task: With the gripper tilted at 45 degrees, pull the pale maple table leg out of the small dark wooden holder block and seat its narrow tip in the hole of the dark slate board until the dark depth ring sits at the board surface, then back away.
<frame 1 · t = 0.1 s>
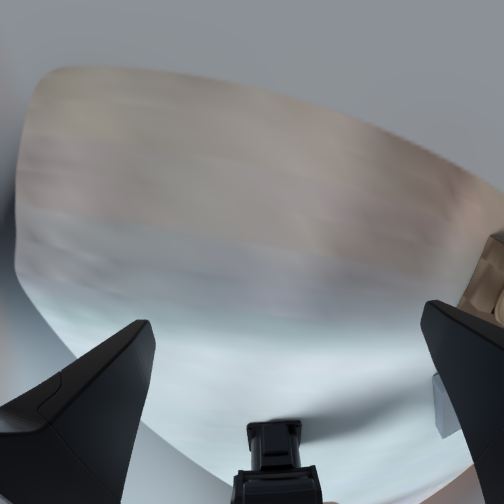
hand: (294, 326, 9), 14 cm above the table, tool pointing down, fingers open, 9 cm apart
board: (491, 369, 31), on the table
holder: (495, 284, 25), on the table
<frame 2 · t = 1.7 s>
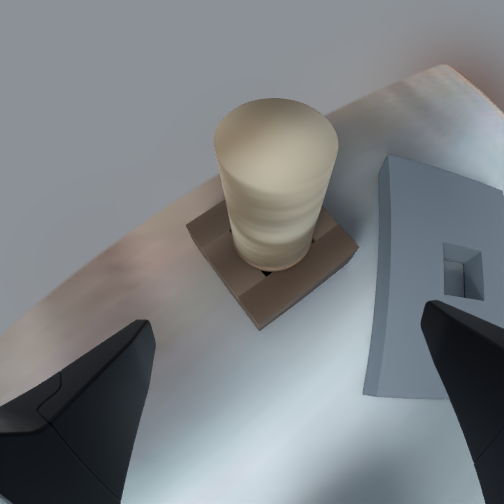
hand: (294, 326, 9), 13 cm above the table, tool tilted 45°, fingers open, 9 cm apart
board: (446, 282, 23), on the table
leg: (273, 210, 19), in the holder
holder: (271, 251, 25), on the table
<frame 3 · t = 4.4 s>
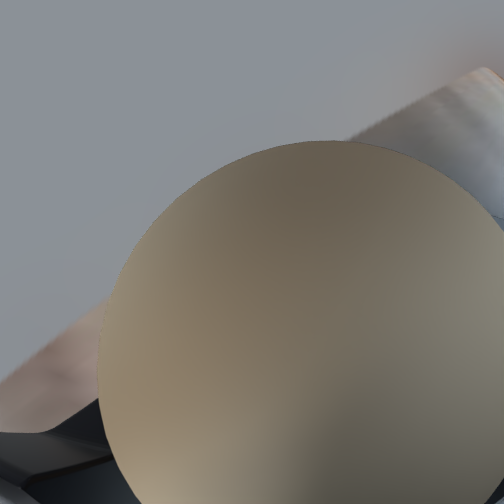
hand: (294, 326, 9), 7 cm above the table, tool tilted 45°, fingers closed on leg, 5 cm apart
leg: (297, 372, 9), in the holder, touching gripper
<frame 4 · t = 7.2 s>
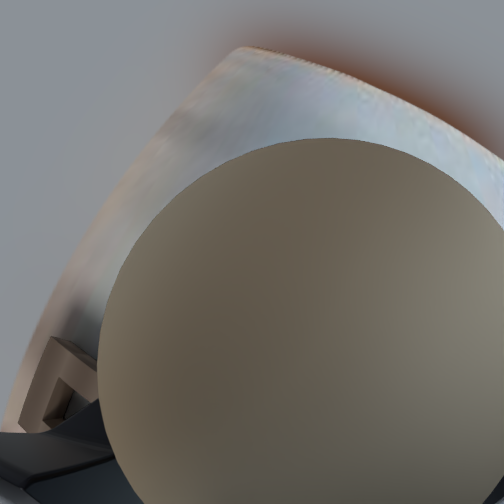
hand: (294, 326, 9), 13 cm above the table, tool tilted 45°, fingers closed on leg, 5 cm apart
leg: (297, 370, 9), point 13 cm above the table, touching gripper
holder: (89, 413, 20), on the table
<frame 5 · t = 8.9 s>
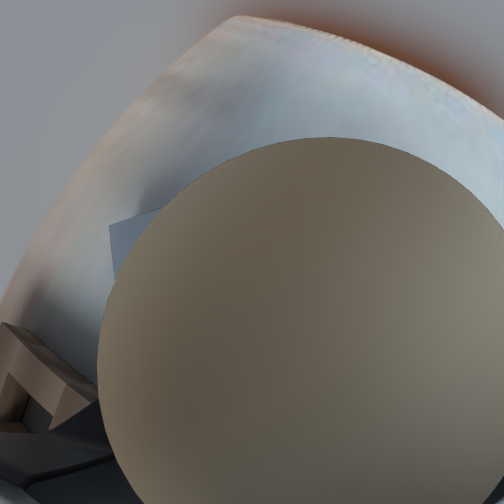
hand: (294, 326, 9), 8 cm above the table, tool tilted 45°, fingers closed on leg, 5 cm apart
board: (281, 370, 16), on the table
leg: (297, 370, 9), point 8 cm above the table, touching gripper
holder: (47, 418, 14), on the table
when the fingers open (7 cm above the table, at t = 10.4 s): leg stays where it is, resting in board.
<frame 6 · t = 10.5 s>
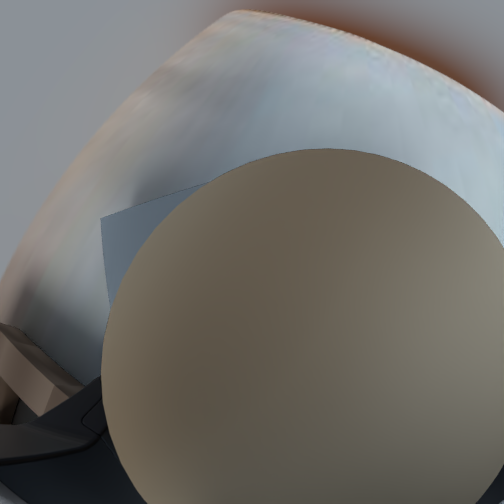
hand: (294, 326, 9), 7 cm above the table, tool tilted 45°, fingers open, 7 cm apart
board: (283, 372, 15), on the table
leg: (296, 372, 9), in the board
holder: (38, 421, 13), on the table
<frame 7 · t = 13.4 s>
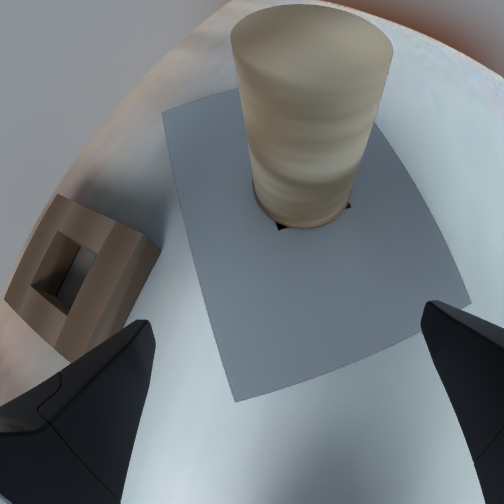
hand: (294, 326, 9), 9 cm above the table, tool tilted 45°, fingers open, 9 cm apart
board: (299, 210, 20), on the table
leg: (305, 148, 14), in the board
holder: (85, 283, 20), on the table
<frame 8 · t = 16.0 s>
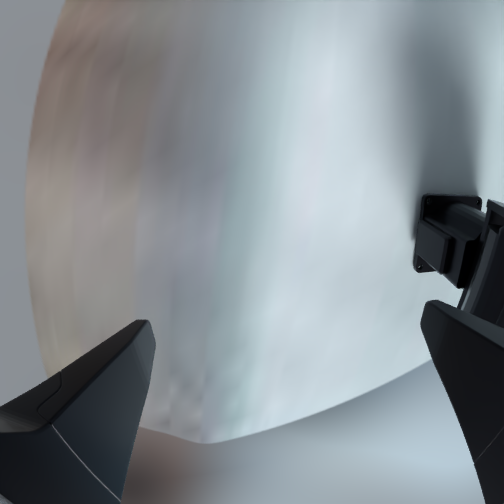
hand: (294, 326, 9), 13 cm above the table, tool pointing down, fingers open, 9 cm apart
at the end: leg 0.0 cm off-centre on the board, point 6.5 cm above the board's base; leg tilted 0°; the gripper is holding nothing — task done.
